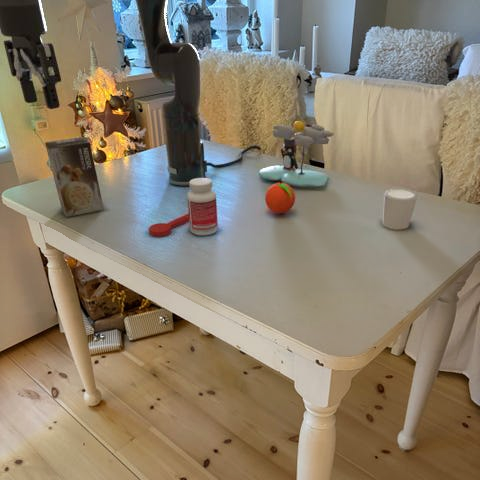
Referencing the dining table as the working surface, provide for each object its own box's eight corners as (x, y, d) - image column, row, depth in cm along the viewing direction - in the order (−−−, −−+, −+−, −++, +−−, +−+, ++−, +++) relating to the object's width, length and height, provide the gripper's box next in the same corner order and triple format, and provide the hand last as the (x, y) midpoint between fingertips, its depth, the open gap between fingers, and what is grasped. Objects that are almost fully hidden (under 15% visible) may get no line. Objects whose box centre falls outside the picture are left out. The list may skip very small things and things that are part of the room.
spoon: (197, 209, 118) (197, 204, 117) (212, 214, 115) (212, 209, 115) (144, 233, 107) (144, 228, 107) (159, 239, 105) (159, 233, 104)
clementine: (303, 215, 114) (304, 185, 110) (278, 222, 111) (279, 191, 107) (283, 204, 119) (284, 175, 115) (259, 210, 116) (259, 181, 112)
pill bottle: (223, 231, 107) (221, 182, 101) (198, 238, 104) (194, 188, 98) (208, 222, 111) (205, 174, 105) (185, 229, 109) (180, 180, 102)
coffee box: (97, 201, 123) (85, 135, 114) (104, 210, 119) (91, 142, 109) (60, 209, 120) (44, 141, 111) (65, 218, 115) (49, 148, 106)
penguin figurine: (252, 179, 134) (252, 121, 126) (274, 169, 141) (275, 113, 133) (315, 194, 124) (320, 132, 116) (336, 182, 131) (341, 123, 123)
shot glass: (412, 220, 110) (418, 189, 106) (410, 232, 105) (416, 201, 101) (381, 216, 112) (385, 186, 108) (378, 228, 107) (382, 197, 103)
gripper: (58, 1, 81) (80, 106, 90) (19, 0, 89) (42, 97, 98) (15, 4, 76) (42, 114, 86) (-23, 3, 84) (6, 103, 94)
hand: (42, 105), depth 92 cm, fingers open, 8 cm apart
